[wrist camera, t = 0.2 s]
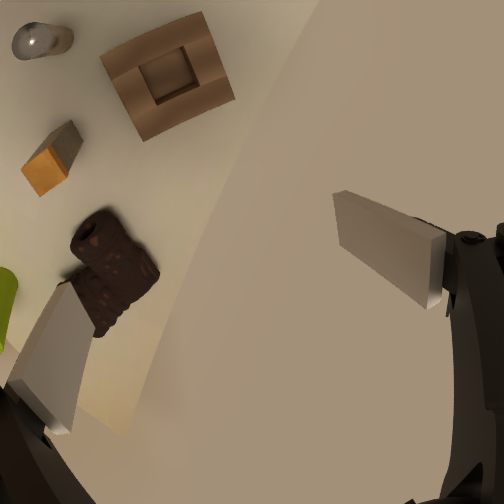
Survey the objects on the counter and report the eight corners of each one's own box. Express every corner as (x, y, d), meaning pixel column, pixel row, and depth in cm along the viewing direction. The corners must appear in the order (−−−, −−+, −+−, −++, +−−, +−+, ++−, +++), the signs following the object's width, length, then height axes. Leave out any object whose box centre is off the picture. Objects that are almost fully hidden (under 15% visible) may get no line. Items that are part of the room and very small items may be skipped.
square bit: (49, 134, 29) (20, 169, 21) (71, 118, 29) (47, 148, 21) (62, 155, 32) (39, 197, 23) (84, 141, 32) (66, 178, 24)
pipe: (113, 229, 33) (34, 302, 31) (179, 293, 44) (108, 348, 42) (104, 195, 39) (36, 259, 38) (160, 255, 50) (97, 306, 49)
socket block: (105, 55, 26) (99, 56, 23) (193, 15, 27) (201, 11, 23) (142, 130, 34) (143, 142, 30) (224, 92, 34) (235, 99, 31)
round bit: (55, 24, 21) (22, 18, 13) (78, 31, 23) (53, 26, 15) (42, 50, 22) (6, 55, 14) (65, 57, 24) (36, 64, 16)
